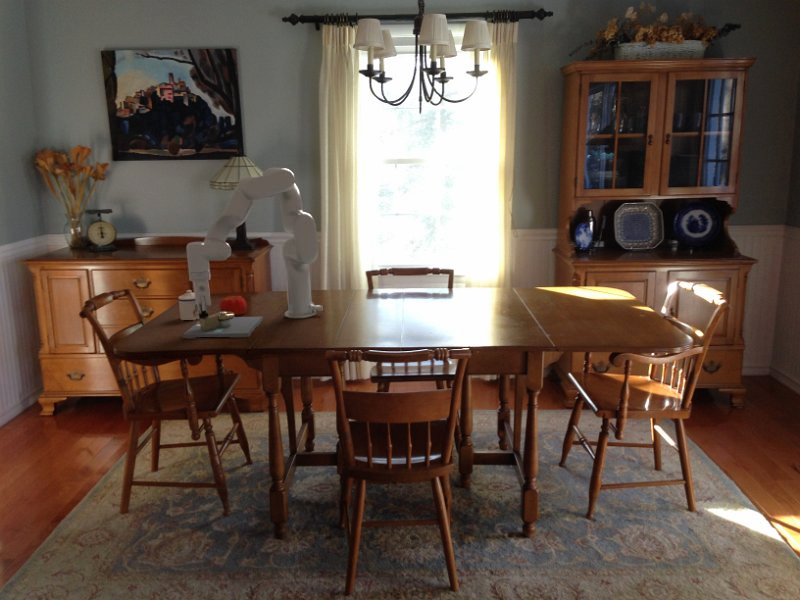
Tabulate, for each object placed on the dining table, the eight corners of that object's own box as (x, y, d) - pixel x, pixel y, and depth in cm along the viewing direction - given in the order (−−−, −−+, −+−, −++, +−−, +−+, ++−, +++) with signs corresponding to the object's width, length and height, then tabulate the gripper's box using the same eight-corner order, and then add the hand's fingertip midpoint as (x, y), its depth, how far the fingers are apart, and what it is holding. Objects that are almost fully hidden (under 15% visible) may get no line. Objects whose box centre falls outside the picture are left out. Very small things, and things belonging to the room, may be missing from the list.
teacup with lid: (197, 321, 270) (194, 292, 267) (176, 321, 271) (173, 292, 268) (209, 313, 281) (207, 286, 279) (189, 313, 283) (186, 286, 280)
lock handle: (224, 319, 262) (223, 308, 261) (239, 321, 258) (238, 310, 257) (195, 328, 250) (194, 317, 249) (210, 330, 246) (209, 319, 245)
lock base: (262, 320, 269) (261, 310, 268) (248, 337, 245) (247, 326, 244) (202, 321, 269) (201, 311, 268) (183, 338, 246) (182, 327, 245)
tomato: (227, 311, 285) (225, 294, 283) (251, 312, 283) (250, 294, 281) (216, 317, 275) (214, 300, 273) (241, 318, 273) (239, 300, 271)
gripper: (212, 278, 243) (216, 327, 247) (208, 271, 257) (212, 318, 261) (190, 280, 241) (195, 329, 245) (187, 273, 254) (192, 320, 258)
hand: (204, 323), depth 253 cm, fingers closed
